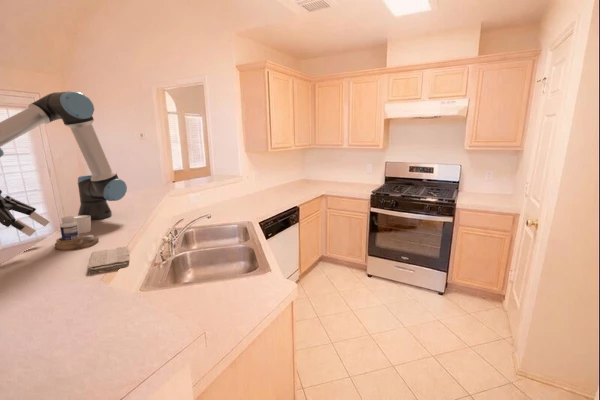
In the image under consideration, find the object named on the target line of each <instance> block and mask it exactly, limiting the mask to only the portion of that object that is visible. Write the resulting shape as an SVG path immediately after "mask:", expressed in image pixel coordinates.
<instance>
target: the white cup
mask: <svg viewBox="0 0 600 400" xmlns="http://www.w3.org/2000/svg"><path fill="white" fill-rule="evenodd" d="M73 217H74V219H75V220H74V222H76V223H77V226H78V233H79V234H86V233H89V232H91V231H92V229H91V228H92V227H91V226H92V223H91V221H92V220H91V216H90V215H80V216H78V215H75V216H73Z"/></svg>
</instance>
